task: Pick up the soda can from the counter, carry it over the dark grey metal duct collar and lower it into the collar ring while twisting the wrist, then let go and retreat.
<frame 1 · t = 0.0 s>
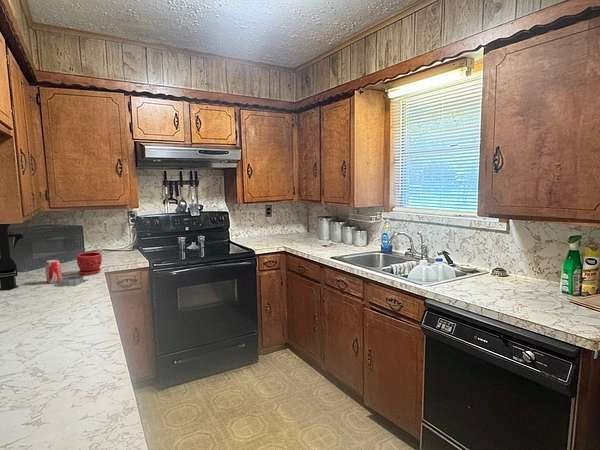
hand: (3, 249, 215), 15 cm above the countertop, tool pointing down, fingers open, 9 cm apart
plant pot: (90, 273, 222), on the countertop
soda can: (54, 282, 203), on the countertop
duct collar: (72, 283, 201), on the countertop
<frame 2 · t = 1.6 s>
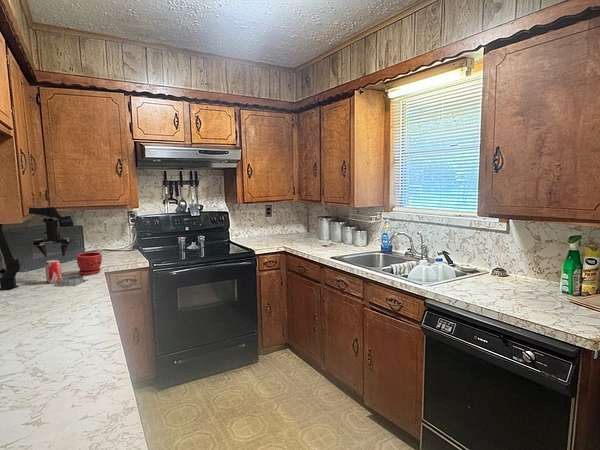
hand: (54, 256, 207), 13 cm above the countertop, tool pointing down, fingers open, 9 cm apart
nothing on the countertop moved.
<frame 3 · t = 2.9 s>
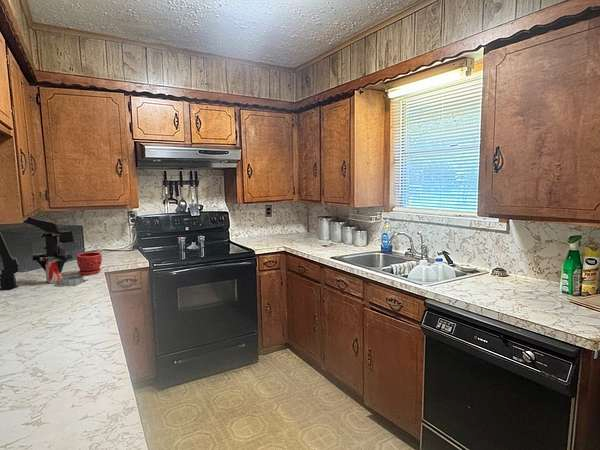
hand: (53, 272, 202), 6 cm above the countertop, tool pointing down, fingers closed on soda can, 7 cm apart
soda can: (54, 282, 203), on the countertop, touching gripper
everything else where it was.
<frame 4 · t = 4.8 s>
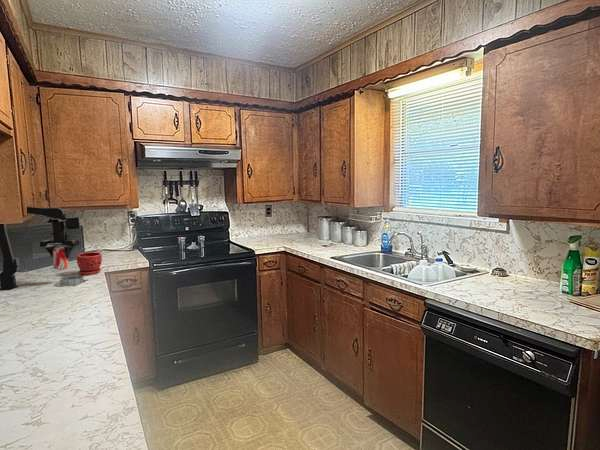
hand: (61, 258, 201), 13 cm above the countertop, tool pointing down, fingers closed on soda can, 7 cm apart
soda can: (61, 269, 201), point 7 cm above the countertop, touching gripper
everything else where it was.
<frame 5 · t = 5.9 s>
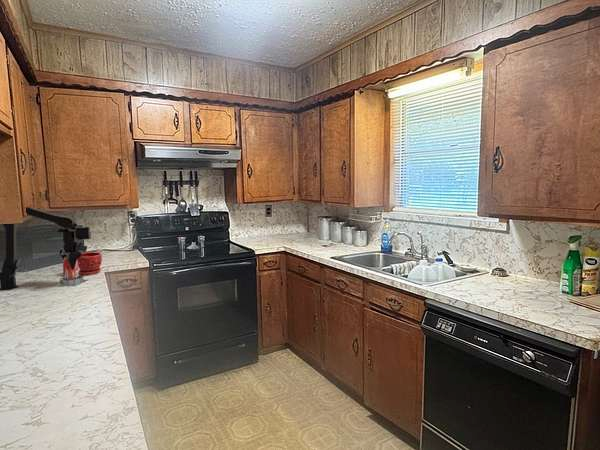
hand: (70, 268, 200), 8 cm above the countertop, tool pointing down, fingers closed on soda can, 7 cm apart
soda can: (71, 278, 201), point 2 cm above the countertop, touching gripper
everything else where it was.
when the fingers open (7 cm above the countertop, at t = 6.8 s): soda can stays where it is, resting on duct collar.
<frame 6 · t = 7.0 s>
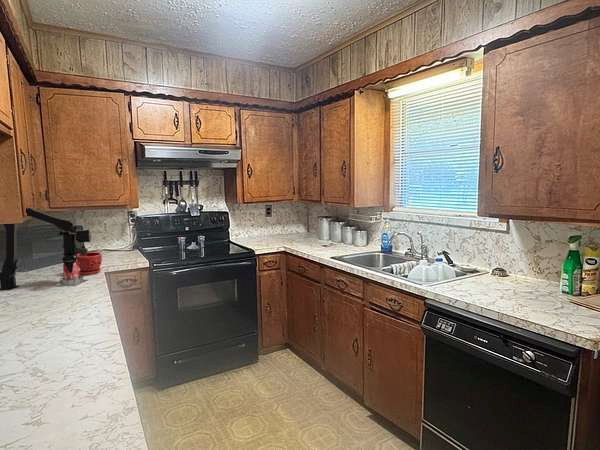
hand: (71, 271, 200), 7 cm above the countertop, tool pointing down, fingers open, 9 cm apart
soda can: (71, 282, 201), resting on duct collar
everything else where it was.
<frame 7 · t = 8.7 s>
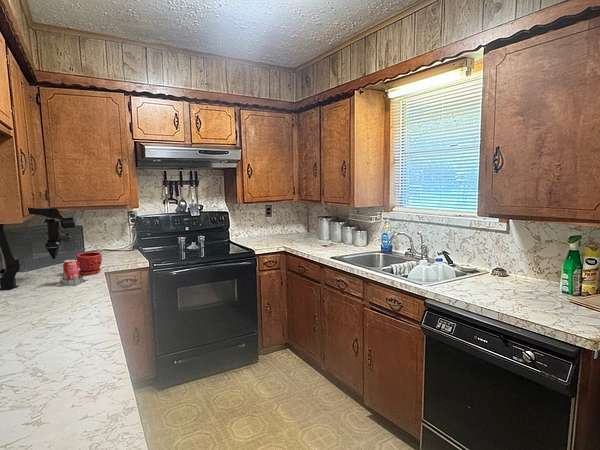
hand: (55, 257, 206), 13 cm above the countertop, tool pointing down, fingers open, 9 cm apart
nothing on the countertop moved.
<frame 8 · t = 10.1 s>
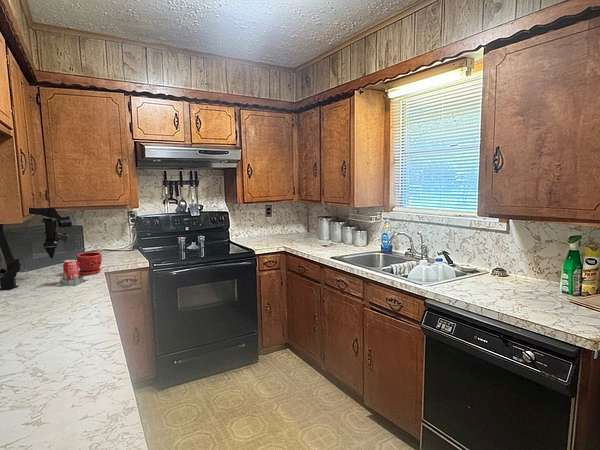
hand: (52, 256, 207), 13 cm above the countertop, tool pointing down, fingers open, 9 cm apart
nothing on the countertop moved.
at the end: soda can 0.5 cm off-centre on the duct collar, point 0.3 cm above the duct collar's base; soda can tilted 0°; the gripper is holding nothing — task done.
